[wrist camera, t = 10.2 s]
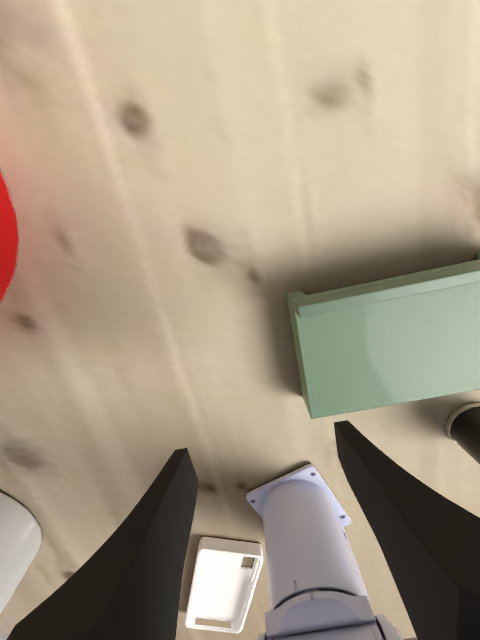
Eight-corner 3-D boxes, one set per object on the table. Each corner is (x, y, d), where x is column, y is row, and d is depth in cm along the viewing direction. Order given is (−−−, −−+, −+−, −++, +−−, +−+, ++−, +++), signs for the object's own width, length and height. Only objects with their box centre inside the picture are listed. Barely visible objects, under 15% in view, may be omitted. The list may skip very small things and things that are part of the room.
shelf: (482, 364, 22) (541, 394, 18) (302, 397, 23) (316, 432, 19) (492, 249, 19) (564, 252, 15) (285, 293, 20) (297, 306, 16)
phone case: (200, 535, 29) (186, 613, 33) (198, 549, 27) (183, 628, 32) (263, 543, 29) (240, 619, 33) (264, 557, 28) (240, 634, 32)
